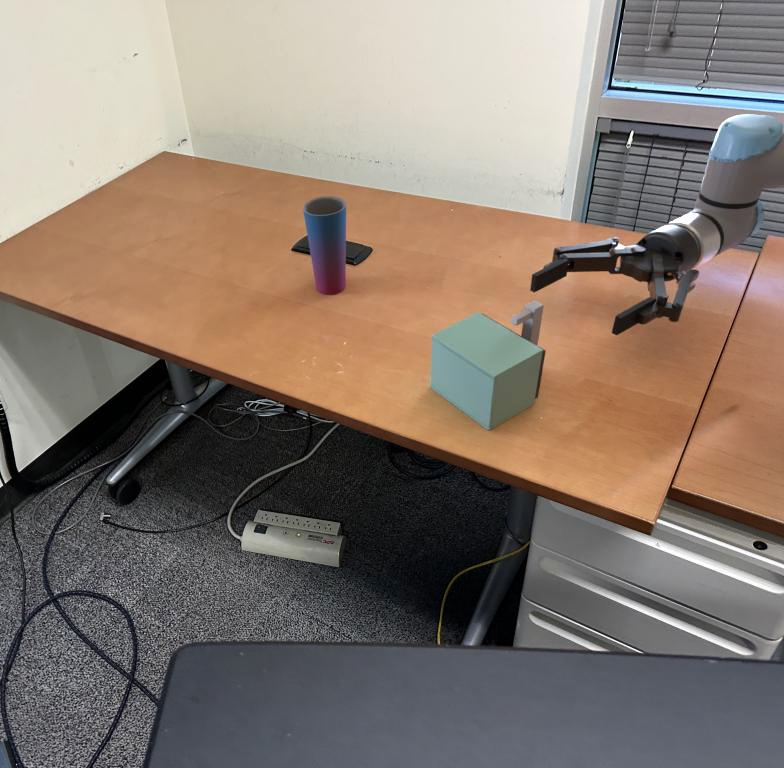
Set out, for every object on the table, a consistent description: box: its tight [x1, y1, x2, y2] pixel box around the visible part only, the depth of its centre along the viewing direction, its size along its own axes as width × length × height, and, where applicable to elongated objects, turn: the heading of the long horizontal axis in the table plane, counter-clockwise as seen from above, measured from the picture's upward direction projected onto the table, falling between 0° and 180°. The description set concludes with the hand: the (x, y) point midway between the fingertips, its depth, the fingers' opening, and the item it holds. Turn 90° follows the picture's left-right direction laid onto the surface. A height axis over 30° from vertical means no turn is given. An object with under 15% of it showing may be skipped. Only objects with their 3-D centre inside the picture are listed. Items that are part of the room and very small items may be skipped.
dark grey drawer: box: [480, 299, 547, 400], centre depth 89 cm, size 12×11×10 cm
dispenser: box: [429, 311, 543, 431], centre depth 89 cm, size 8×11×9 cm
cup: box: [302, 195, 347, 296], centre depth 112 cm, size 7×7×15 cm
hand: (572, 303), depth 92 cm, fingers open, 13 cm apart
